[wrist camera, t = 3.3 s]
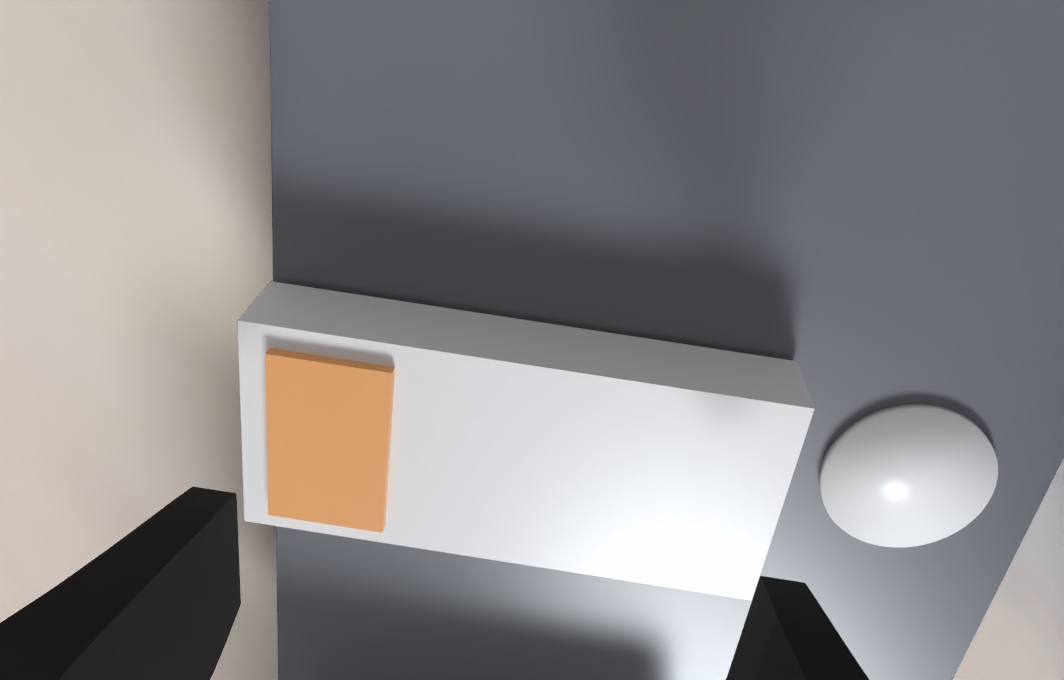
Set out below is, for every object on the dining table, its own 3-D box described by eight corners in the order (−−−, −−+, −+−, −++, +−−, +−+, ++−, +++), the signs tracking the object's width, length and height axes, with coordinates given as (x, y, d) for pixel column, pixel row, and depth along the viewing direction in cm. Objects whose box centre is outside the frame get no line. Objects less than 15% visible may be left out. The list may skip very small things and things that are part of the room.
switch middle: (797, 361, 15) (816, 415, 14) (741, 543, 17) (752, 608, 15) (271, 281, 15) (232, 326, 14) (273, 470, 17) (240, 528, 16)
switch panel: (1362, -464, 12) (1591, -566, 9) (803, 821, 25) (826, 941, 22) (337, -603, 12) (253, -745, 9) (315, 743, 25) (277, 852, 23)
